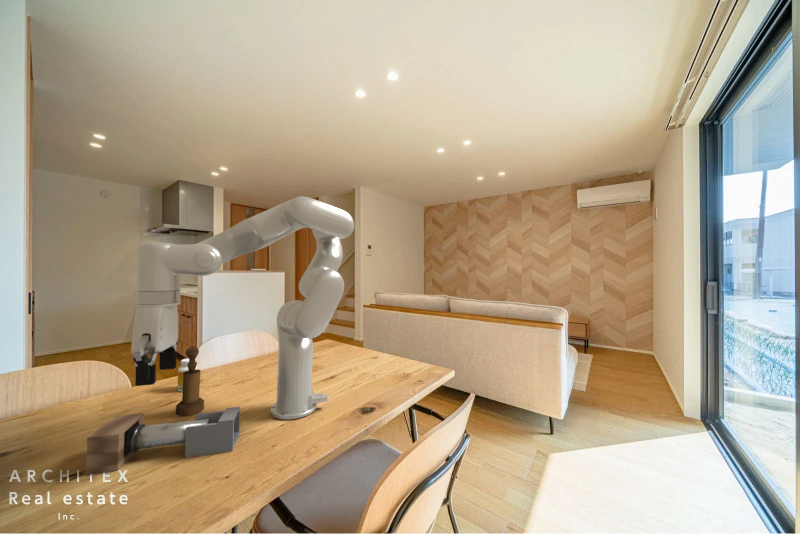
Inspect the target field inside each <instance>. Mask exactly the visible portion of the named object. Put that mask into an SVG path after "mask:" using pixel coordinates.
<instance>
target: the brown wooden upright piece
mask: <svg viewBox="0 0 800 534" xmlns="http://www.w3.org/2000/svg"><path fill="white" fill-rule="evenodd" d="M199 352H200V350H199V348H198V347H197V346H191V347H188V348H187V349H186V351H185V355H186V356H187V358H189V363H188V364H187V366H188V369H189V370H188V371H185V372H184V373H183V392H182V396H181V401H179V402H178V403H177V404H176V405H175V415H176V416H178V417H189V416H190V417H191V416H194V415H197V414H198V413H202V412H203V411H204V409H205V400H204V399H203V398H201V396H200V387H201V369H198V370H195V369H196V366H198V365H197V364H198V361H195V359H196V358H197V357H198V355H199ZM196 360H197V359H196Z"/></svg>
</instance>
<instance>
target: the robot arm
mask: <svg viewBox="0 0 800 534" xmlns="http://www.w3.org/2000/svg"><path fill="white" fill-rule="evenodd" d="M305 228H308V229H311V230H312V234H313V237H314V239H315V243H316V250H315V253H314V255H313V258H312V259H311V261H310V263H309V265H308V267H307V268H306V270H305V271H304V273H303V275H302V276H301V278H300V280H299V282H298V290H299V293H300V294H301V295H302V296H303V297H304V300H299V299H298V300H297V299H294V300H290V301H287V302H286V303H283V305H282V306H281V307H280V308H279V310H278V312H277V317H276V328H277V337H278V338H277V340H278V341H277V342H278V349H277V350H278V351H277V352H278V356H277V385H276V402H275V403H273V404H272V405H271V407H270V415H271V416H272V417H273V418H275V419H278V420H296V419H300V418H304V417H306V416H309V415H310V414H312V413H314V412H315V411H316V409H317V403H326V402H328V394H324V393H323V392H313V390H314V388H313V358H314V357H313V353H314V343H313V339H315V338H317V337H320V335H322V334H323V332H324V331H325V330H326V328H327V327H328V325H329V323H330V321H331V320H332V318H333V315H334V313H335V312H336V309H337V308H338V306H339V303H340V301H341V299H342V298H343V295H344V291H345V281H344V278H343V276H342V275H341V274H340V273H339V271H338V270H339V269H340V267H341V264H342V261H343V257H344V251H343V246H342V243H341V240H343V239H347V238H348V237H350V236H351V235H352V233H353V232H354V230H355V222H354V219H353V216H351V214H350V213H349V212H348V211H346V210H344V209H342V208H339V207H336V206H334V205H331V204H329V203H326V202H323V201H321V200H318V199H315V198H312V197H309V196H305V195H304V196H303V195H302V196H301V195H300V196H297V197H294V198H291V199H289V200H287V201H285V202H282V203H280V204H278V205H275V206H273V207H270V208H268V209H266V210H264V211H262V212H259V213H258V214H257V213H256V214H255V215H253V216H250V217H249V218H245V219H244V220H241V221H240V222H238V223H236V224H235V225H233V226H231V227H230V228H228V229H225V230H224V231H221V232H220V233H217V234H215V235H213V236H210V237H209V238H206V239H203V240H202V241H199V242H197V243H193V244H192V243H191V244H190V243H189V244H175V243H168V242H159V241H157V242H155V241H154V242H153V241H150V242H142V243H140V244H139V245H138V247H137V248H136V249H137V252H136V286H135V288H136V291H135V293H136V295H135V296H136V297H135V304H136V305H135V306H136V310H135V313H134V319H133V323H132V324H133V327H132V335H131V349H130V350H131V351H130V352H131V354H132V355H133V359H132V360H133V361H134V367H135V386H136V387H141V386H142V387H144V386H151V385H155V384H156V383H157V382H156V379H157V364H156V363H155V361H156V358H157V356H158V354H159V362H158V363H159V370H161V371H164V370H174V369H176V368H177V360H178V359H177V357H178V356H177V353H178V345H177V343H178V342H179V340H178V338H179V313H178V305H181V285H182V284H181V283H182V282H181V279H182V275H193V276H199V277H206V276H210V275H213V274H215V273H216V272H217V271H219V270H220V269H221V266H222V265H223V264H225V263H227V262H229V261H232V260H233V259H236V258H238V257H240V256H243V255H245V254H248V253H253V252H256V251H259V250H261V249H264V248H266V247H268V246H270V245H273V244H274V243H275V242H278V241H279V240H281V239H283V238H285V237H287V236H289V235H291V234H293V233H295V232H297V231H299V230H302V229H305Z"/></svg>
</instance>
